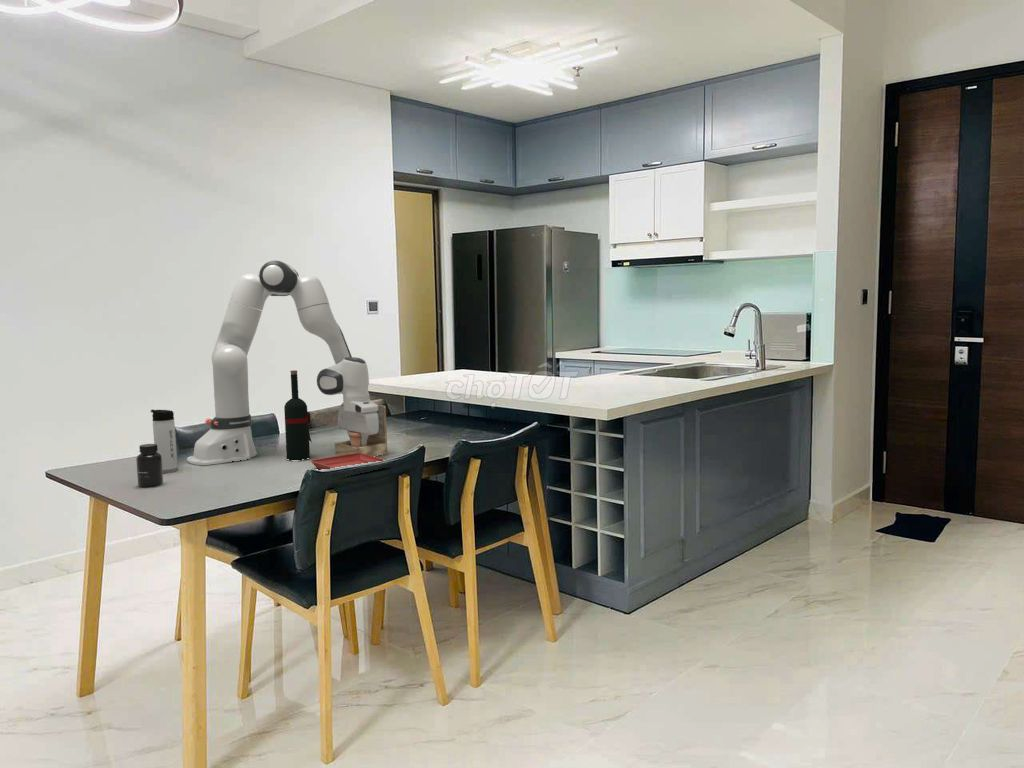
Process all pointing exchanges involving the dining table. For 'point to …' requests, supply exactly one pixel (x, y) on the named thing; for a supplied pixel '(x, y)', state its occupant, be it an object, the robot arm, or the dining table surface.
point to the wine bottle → (296, 424)
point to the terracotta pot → (355, 439)
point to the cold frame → (369, 440)
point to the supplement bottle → (149, 466)
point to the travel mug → (165, 438)
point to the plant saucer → (344, 460)
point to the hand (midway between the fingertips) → (358, 444)
